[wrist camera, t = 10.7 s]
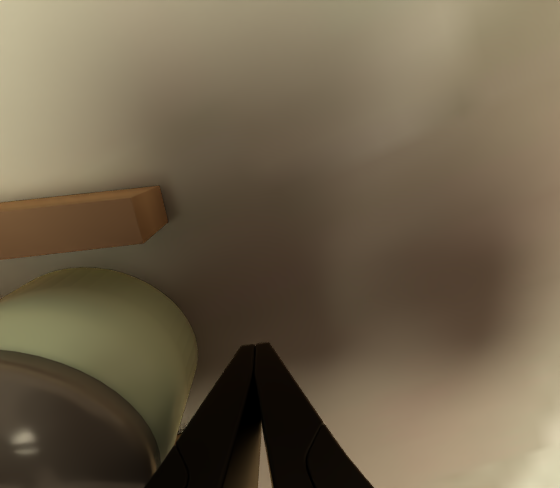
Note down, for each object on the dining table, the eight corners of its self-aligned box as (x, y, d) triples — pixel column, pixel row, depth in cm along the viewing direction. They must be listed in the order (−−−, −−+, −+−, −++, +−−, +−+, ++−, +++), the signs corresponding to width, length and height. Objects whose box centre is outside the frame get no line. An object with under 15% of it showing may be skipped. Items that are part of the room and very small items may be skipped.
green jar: (214, 406, 10) (187, 558, 6) (48, 431, 10) (-80, 601, 6) (172, 252, 8) (97, 343, 4) (-37, 282, 8) (-295, 401, 4)
